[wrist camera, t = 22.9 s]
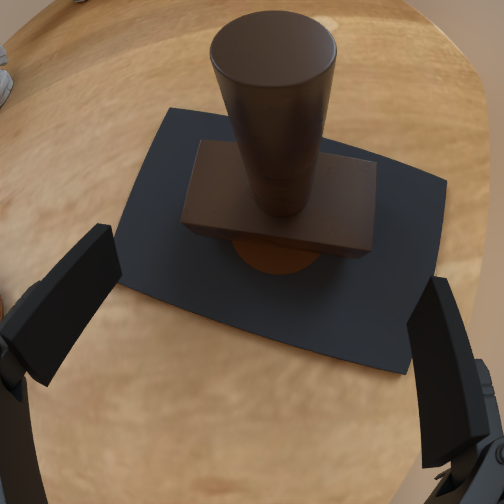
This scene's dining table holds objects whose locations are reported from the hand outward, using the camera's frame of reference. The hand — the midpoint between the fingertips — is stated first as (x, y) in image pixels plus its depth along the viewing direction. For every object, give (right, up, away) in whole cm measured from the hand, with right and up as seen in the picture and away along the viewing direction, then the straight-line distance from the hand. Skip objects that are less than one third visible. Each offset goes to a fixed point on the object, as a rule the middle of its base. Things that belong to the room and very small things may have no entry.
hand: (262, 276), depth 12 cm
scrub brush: (+2, +4, +8) cm, 9 cm away
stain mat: (+1, +3, +8) cm, 9 cm away
